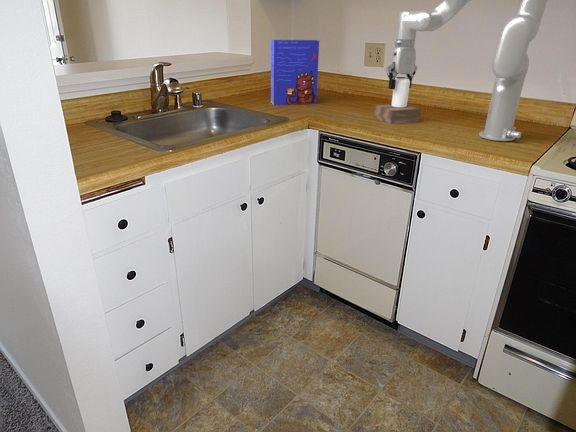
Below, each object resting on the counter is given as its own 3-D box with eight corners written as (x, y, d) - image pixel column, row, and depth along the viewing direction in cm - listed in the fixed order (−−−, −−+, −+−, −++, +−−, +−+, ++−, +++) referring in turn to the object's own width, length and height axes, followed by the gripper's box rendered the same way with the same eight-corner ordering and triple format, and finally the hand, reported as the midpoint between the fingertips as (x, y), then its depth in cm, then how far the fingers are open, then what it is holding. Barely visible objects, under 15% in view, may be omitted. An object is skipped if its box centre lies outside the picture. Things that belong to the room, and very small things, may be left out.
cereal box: (312, 103, 222) (315, 39, 209) (316, 105, 216) (319, 40, 204) (270, 104, 216) (271, 39, 204) (273, 106, 211) (274, 39, 199)
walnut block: (419, 123, 185) (421, 109, 182) (390, 125, 180) (392, 110, 178) (400, 116, 197) (401, 103, 194) (373, 118, 192) (374, 104, 190)
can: (407, 108, 183) (410, 78, 178) (391, 107, 184) (394, 78, 179) (406, 105, 188) (410, 77, 184) (391, 105, 190) (394, 76, 185)
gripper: (396, 45, 168) (391, 90, 176) (426, 44, 177) (420, 88, 184) (382, 44, 174) (378, 88, 181) (412, 43, 183) (407, 86, 190)
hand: (399, 88), depth 183 cm, fingers open, 9 cm apart
